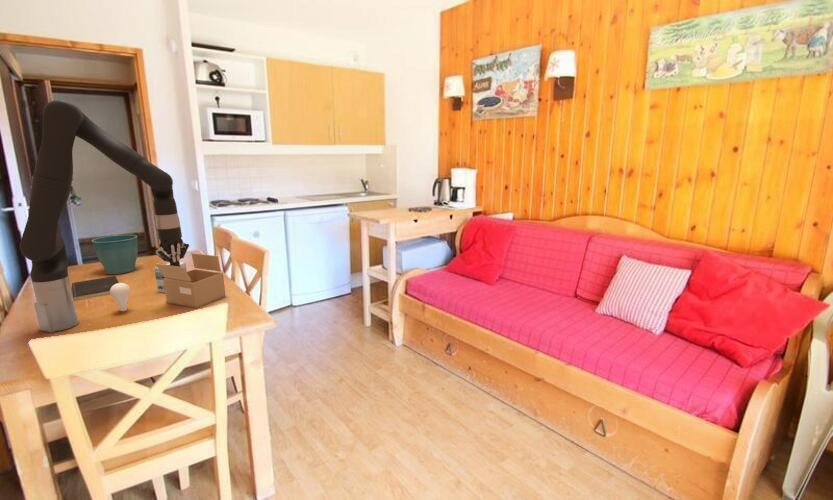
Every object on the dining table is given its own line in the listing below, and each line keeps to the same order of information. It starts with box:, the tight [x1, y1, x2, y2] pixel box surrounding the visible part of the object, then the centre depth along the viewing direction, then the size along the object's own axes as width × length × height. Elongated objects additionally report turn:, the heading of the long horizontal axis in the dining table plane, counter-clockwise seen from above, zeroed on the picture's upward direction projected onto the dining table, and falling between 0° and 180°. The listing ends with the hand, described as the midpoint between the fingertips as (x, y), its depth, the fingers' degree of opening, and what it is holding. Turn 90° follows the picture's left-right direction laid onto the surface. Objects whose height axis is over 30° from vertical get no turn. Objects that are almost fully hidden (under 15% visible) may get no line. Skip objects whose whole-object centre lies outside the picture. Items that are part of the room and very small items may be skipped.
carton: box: [163, 268, 227, 309], centre depth 163 cm, size 14×16×10 cm
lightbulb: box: [109, 282, 131, 312], centre depth 151 cm, size 6×6×11 cm
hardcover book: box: [71, 275, 120, 301], centre depth 177 cm, size 16×23×2 cm
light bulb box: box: [154, 261, 187, 293], centre depth 176 cm, size 11×7×11 cm, turn 168°
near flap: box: [155, 262, 191, 281], centre depth 153 cm, size 6×14×1 cm
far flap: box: [191, 252, 222, 272], centre depth 166 cm, size 6×14×1 cm
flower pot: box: [91, 234, 139, 275], centre depth 201 cm, size 18×18×17 cm
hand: (176, 270), depth 154 cm, fingers closed
